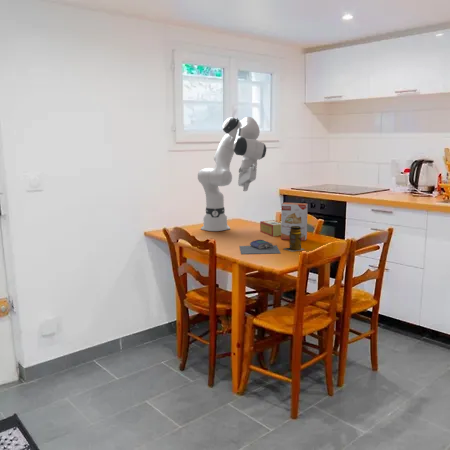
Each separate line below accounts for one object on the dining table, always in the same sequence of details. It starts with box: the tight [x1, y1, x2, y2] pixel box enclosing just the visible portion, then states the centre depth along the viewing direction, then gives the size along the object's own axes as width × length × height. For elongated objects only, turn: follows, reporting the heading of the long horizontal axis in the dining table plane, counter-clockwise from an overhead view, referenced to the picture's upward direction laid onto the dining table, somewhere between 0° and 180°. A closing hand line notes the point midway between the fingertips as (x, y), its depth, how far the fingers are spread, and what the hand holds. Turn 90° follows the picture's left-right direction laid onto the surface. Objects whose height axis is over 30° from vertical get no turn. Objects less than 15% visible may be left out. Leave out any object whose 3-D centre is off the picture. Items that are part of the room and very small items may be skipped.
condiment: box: [283, 226, 305, 253], centre depth 246 cm, size 7×8×12 cm
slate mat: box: [239, 244, 282, 255], centre depth 247 cm, size 17×20×1 cm
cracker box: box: [280, 202, 309, 242], centre depth 269 cm, size 14×6×21 cm, turn 70°
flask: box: [249, 239, 274, 249], centre depth 252 cm, size 9×3×11 cm
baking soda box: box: [259, 219, 281, 237], centre depth 288 cm, size 10×6×16 cm
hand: (245, 190), depth 267 cm, fingers closed
